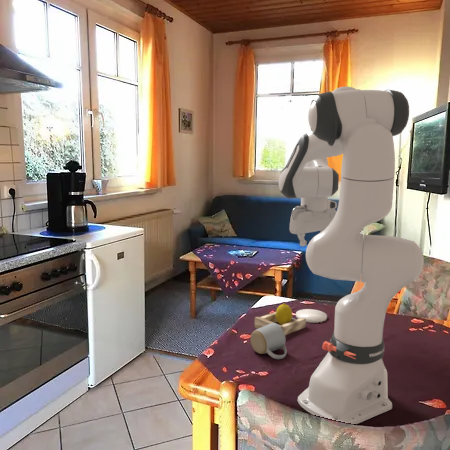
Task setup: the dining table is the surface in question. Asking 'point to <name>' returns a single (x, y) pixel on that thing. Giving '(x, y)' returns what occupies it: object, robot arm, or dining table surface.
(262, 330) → the ceramic mug
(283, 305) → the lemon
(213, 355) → the dining table surface
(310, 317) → the saucer
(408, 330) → the dining table surface
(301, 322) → the wooden rectangular frame
